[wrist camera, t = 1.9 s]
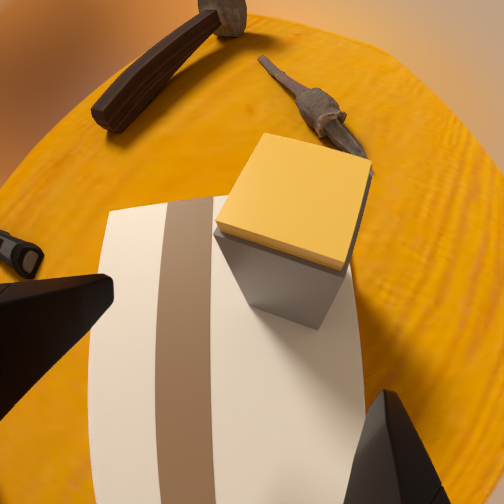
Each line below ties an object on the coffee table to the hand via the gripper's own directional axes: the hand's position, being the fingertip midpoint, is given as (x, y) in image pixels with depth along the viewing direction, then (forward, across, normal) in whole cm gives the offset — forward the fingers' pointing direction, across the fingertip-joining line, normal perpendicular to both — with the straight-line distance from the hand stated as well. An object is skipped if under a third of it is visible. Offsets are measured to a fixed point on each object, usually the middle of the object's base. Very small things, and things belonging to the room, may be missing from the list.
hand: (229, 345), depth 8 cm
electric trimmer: (+7, +32, +11) cm, 34 cm away
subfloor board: (+8, +3, +10) cm, 13 cm away
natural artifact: (+28, +6, -10) cm, 30 cm away
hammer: (+31, +25, -13) cm, 42 cm away
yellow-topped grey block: (+12, 0, +4) cm, 13 cm away
